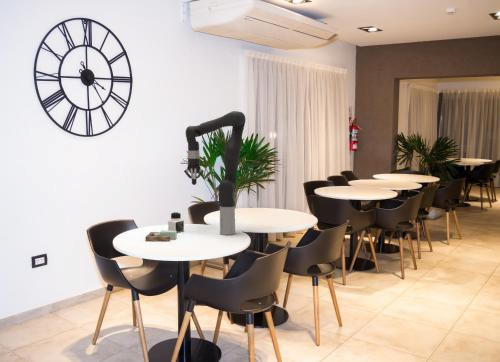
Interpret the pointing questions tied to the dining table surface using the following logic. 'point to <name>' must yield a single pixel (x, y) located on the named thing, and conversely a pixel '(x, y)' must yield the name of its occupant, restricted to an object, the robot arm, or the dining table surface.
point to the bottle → (167, 234)
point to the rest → (156, 237)
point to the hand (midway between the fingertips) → (194, 184)
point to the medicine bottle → (176, 222)
